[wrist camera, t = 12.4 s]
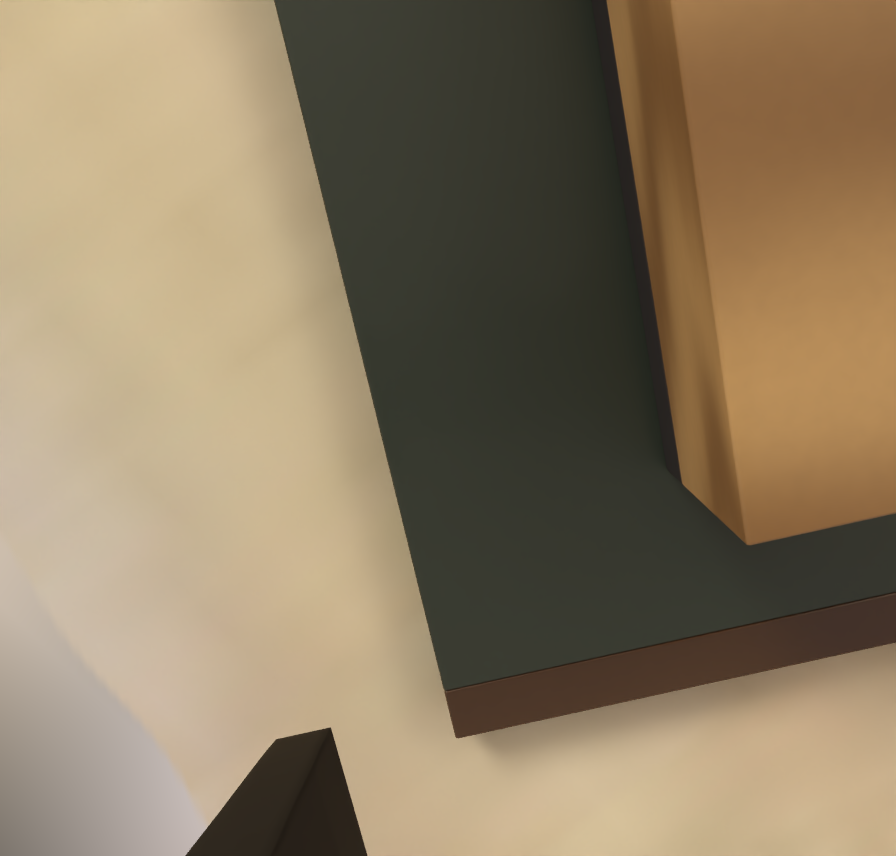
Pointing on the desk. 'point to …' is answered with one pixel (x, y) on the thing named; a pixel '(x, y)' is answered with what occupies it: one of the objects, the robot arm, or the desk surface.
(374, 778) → the desk surface
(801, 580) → the slate board
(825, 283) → the eraser
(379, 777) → the desk surface
